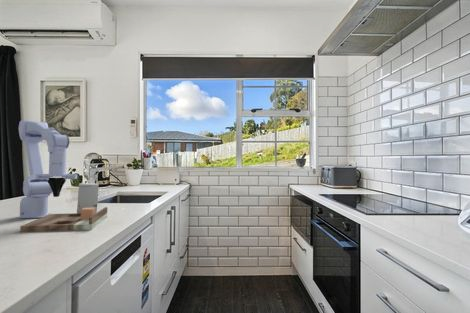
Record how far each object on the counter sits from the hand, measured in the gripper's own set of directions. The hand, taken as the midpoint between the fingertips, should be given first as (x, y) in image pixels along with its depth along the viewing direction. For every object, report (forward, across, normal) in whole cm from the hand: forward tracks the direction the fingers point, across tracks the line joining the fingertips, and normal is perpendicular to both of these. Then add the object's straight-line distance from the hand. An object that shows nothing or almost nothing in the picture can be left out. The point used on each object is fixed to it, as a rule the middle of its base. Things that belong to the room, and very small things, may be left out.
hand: (56, 196), depth 109 cm
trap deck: (+10, +6, -4) cm, 13 cm away
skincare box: (+11, +8, +12) cm, 18 cm away
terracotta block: (+8, +13, -4) cm, 16 cm away
